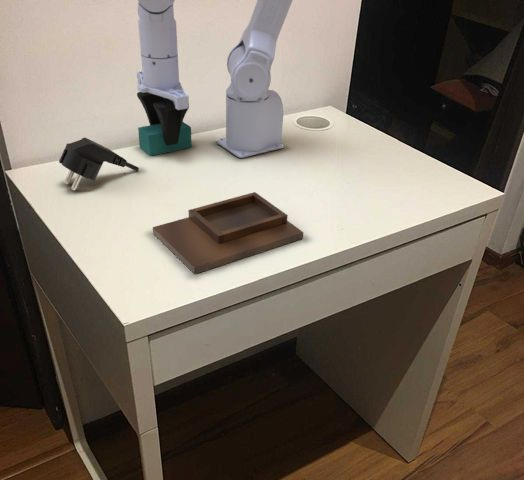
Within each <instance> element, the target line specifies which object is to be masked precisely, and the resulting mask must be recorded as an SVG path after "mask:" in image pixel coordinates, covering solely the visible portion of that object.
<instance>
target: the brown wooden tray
mask: <svg viewBox="0 0 524 480" xmlns="http://www.w3.org/2000/svg"><path fill="white" fill-rule="evenodd" d="M152 234H153V235H154V236H155V237H156V238H157V239H158V240H159V241H160V242H161V243H162V244H163V245H164V247H166V248H167V249H168V250H169V251H170V252H171V253H172V254H173V255H175V257H176V258H177V259H178V260H179V261H180V262H181V263H183V265H185V267H186V268H187V269H188V270H190V271H191V272H192V273H193V274H194V275H197V274H199V273H203V272H205V271H209V270H212V269H214V268H218V267H221V266H225V265H226V264H231V263H233V262H236V261H239V260H242V259H245V258H248V257H252V256H255V255H257V254H261V253H263V252H267V251H269V250H272V249H275V248H279V247H282V246H285V245H287V244H292V243H293V242H297V241H299V240H303V239H304V232H303V231H302V230H301V229H300V228H298V227H297V226H296V225H294V224H292V223H291V222H290V221H288V214H286V213H285V212H284V211H282V210H281V209H280V208H278V207H277V206H275V205H274V204H272V203H271V202H270V201H269V200H267V199H266V198H264V197H263V196H261V194H259V193H257V192H256V191H254V192H250V193H246V194H243V195H242V194H241V195H239V196H235V197H232V198H227V199H224V200H221V201H216V202H213V203H209V204H205V205H202V206H198V207H195V208H190V209H188V217H184V218H181V219H177V220H173V221H170V222H167V223H163V224H159V225H156V226H153V227H152Z"/></svg>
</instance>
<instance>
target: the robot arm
mask: <svg viewBox="0 0 524 480" xmlns="http://www.w3.org/2000/svg"><path fill="white" fill-rule="evenodd" d="M137 2H138V3H137V15H138V16H139V18H138V20H137V27H138V35H139V37H138V38H139V49H140V57H141V69H142V70H140V71H141V72H140V71H136V79H138V81H137V85H136V88H137V91H138V92H137V93H136V96H137V98H138V100H139V102H140V103H141V105H142V107H143V109H144V111H145V114H146V117H147V120H148V124H149V125H155V124H160V123H161V127H162V133H163V138H164V141H165V144H166V145H167V146H169V145H174V144H178V140H179V135H180V129H181V125H182V122H184V118H185V116H186V114H187V113H188V111H189V108H190V103H189V102H190V99H189V95H188V94H187V93H186V92H185V90H184V87H183V86H182V83H181V81H180V69H179V54H178V53H179V52H178V35H177V33H178V31H177V20H176V19H175V12H174V10H175V9H174V3H175V0H137ZM292 3H293V0H257V1H256V3H255V6H254V9H253V12H252V14H251V17H250V20H249V23H248V25H247V26H246V27H245V29H244V30H243V32H242V34H241V37H240V39H239V42H237V44H236V45H235V46H234V47H233V48H232V49H231V50H230V52H229V53H228V56H227V59H226V68H227V72H228V74H229V77H230V84H229V86H228V87H227V88H226V89H225V137H223V138H218V139H216V141H215V142H216V144H218V145H219V146H220V147H222V148H224V149H225V150H227V151H228V152H230V153H231V154H233V155H234V156H236V157H237V158H239V159H242V158H247V157H251V156H255V155H256V156H257V155H259V154H264V153H268V152H272V151H276V150H280V149H284V148H285V144H283V143H282V142H283V141H282V140H283V125H284V104H283V100H282V98H281V96H280V94H279V93H278V92H277V91H275V90H274V89H269V88H270V86H271V82H272V81H271V80H272V74H271V69H272V65H273V62H274V60H275V54H276V50H277V49H276V48H277V41H278V38H279V35H280V33H281V31H282V28H283V26H284V23H285V20H286V18H287V16H288V14H289V10H290V9H291V6H292Z"/></svg>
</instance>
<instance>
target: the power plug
mask: <svg viewBox="0 0 524 480" xmlns="http://www.w3.org/2000/svg"><path fill="white" fill-rule="evenodd" d="M104 162H106V163H108V164H112V165H114V166H118V167H121V168H125V167H126V168H129V169H130V170H132V171H135V172H139V170H140V168H139V167H138V166H136V165H134V164H133V163H131V162H128V160H127V159H125V158H124V157H123V156H121V155H119V154H118V153H116V152H114V151H113V150H112V149H110V148H107V147H105V146H104V145H102V144H99V143H97V142H96V141H94V140H91V139H90V138H87V137H82V138H81V139H78V140H76V141H73V142H70V143H66V144H65V147H64V150H63V152H62V153H61V156H60V158H59V160H58V163H59V164H61V166H63V167H64V168H66V169H67V170H68V173H67V175H66V177H65V179H64V184H65V185H70V183H71V181H72V179H73V177H74V175H75V174H76V177H75V179H74V181H73V183H72V185H71V190H72V191H74V192H75V191H77V189H78V188H79V185H80V183H81V181H82V179H83V178H84V179H88V180H90V181H96V179H97V177H98V175H99V173H100V170H101V168H102V166H103V164H104Z"/></svg>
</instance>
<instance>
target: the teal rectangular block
mask: <svg viewBox="0 0 524 480" xmlns="http://www.w3.org/2000/svg"><path fill="white" fill-rule="evenodd" d="M137 131H138V141H139V148H140V150H142V151H143V152H145V153H146V154H147V156H150V157H152V156H157V155H161V154H166V153H171V152H175V151H179V150H184V149H190V148H192V147H193V145H192V127H191V126H190V125H189V124H187V123H185V122H184V121H183V122H182V125H181V129H180V135H179V140H178V144H174V145H169V146H167V145H166V144H165V141H164V138H163V133H162V127H161V123H160V124H155V125H150V124H149V125H145V126H140V127H137Z"/></svg>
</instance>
